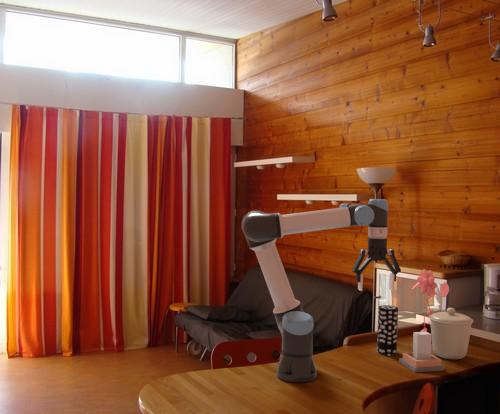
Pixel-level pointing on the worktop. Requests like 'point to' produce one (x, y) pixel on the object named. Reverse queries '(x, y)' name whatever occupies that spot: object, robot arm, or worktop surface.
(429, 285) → the pink flower
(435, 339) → the canister
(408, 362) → the pink square tray
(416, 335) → the skincare box
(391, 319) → the white-spotted black cylinder
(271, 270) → the robot arm
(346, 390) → the worktop surface
